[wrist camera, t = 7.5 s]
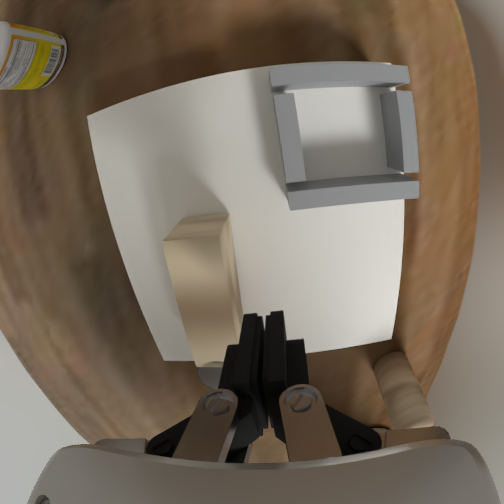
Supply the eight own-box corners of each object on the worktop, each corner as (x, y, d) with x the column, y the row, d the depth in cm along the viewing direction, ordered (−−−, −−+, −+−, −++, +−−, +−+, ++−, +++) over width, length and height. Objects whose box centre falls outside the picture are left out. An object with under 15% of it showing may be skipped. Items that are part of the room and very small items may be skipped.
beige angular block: (250, 353, 22) (246, 390, 18) (211, 353, 22) (202, 390, 19) (231, 212, 17) (220, 236, 14) (181, 217, 18) (160, 241, 14)
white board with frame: (381, 318, 24) (400, 359, 19) (172, 339, 26) (156, 380, 21) (374, 70, 16) (407, 55, 11) (108, 116, 18) (65, 117, 13)
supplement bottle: (27, 55, 15) (-50, 51, 5) (67, 23, 14) (-13, 2, 5) (32, 100, 17) (-53, 109, 8) (73, 70, 16) (-18, 61, 7)
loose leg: (402, 372, 27) (427, 433, 19) (371, 379, 28) (390, 444, 19) (409, 348, 25) (439, 412, 17) (375, 355, 26) (400, 424, 18)
